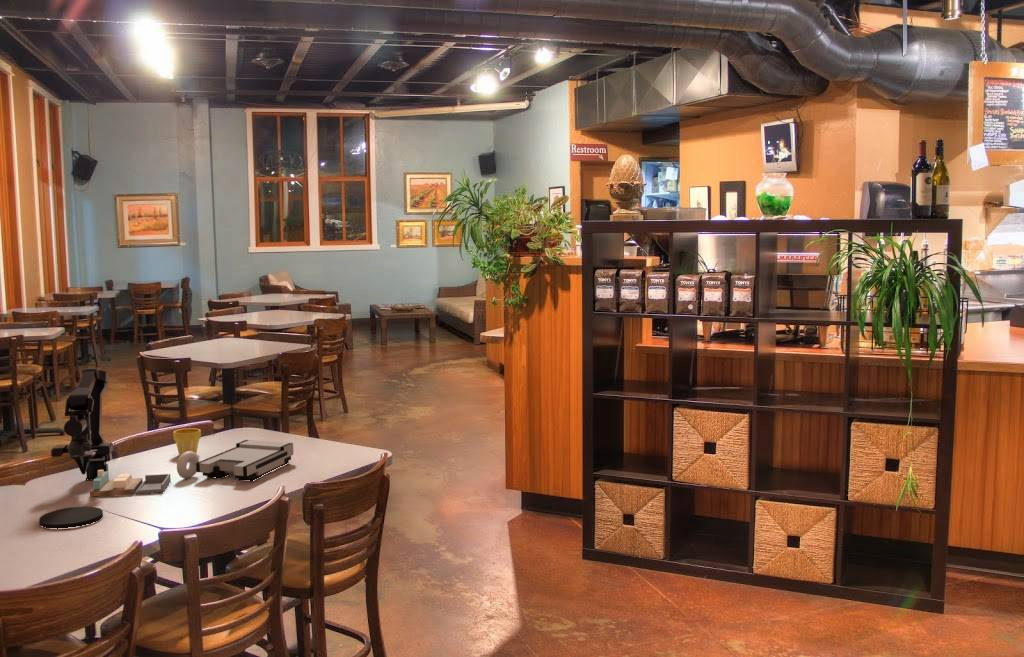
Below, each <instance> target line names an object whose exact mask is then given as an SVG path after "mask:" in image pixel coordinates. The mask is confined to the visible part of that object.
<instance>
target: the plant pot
mask: <svg viewBox="0 0 1024 657" xmlns="http://www.w3.org/2000/svg"><path fill="white" fill-rule="evenodd" d="M172 435H173V436H172V437H173V440H174V441H175V446H176V448H177V452H178V455H179V457H180V456H181V455H182V454H183V453H185V452H187V451H192V452H194V453H195V454H196V453H197V454H198V448H199V442H200V439H201V437H202V431H201V429H199V428H194V427H193V428H189V427H188V428H179V429H176V430H174V431H173V434H172ZM197 454H196V455H197Z"/></svg>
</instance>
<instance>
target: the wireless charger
mask: <svg viewBox="0 0 1024 657" xmlns="http://www.w3.org/2000/svg"><path fill="white" fill-rule="evenodd" d="M102 517H103V518H104V510H103V509H102V508H100V507H97V506H84V505H83V506H74V507H73V506H70V507H65V508H59V509H56V510H52V511H49V512H47V513H45V514H43V515H41V516H40V517H39V519H38V521H39V522H38V523H40V524H39V526H40V525H41V526H43V527H46V528H57V529H58V528H68V527H76V526H82V525H86V524H91V523H93V522H96V521H98V520H100V519H101V518H102ZM103 518H102V519H103ZM102 519H101V520H102ZM101 520H100V521H101ZM98 522H99V521H98ZM96 523H97V522H96ZM91 525H92V524H91Z"/></svg>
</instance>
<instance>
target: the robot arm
mask: <svg viewBox="0 0 1024 657" xmlns="http://www.w3.org/2000/svg"><path fill="white" fill-rule="evenodd" d="M109 383H110V375H109V373H108V372H107V371H105V370H101V369H99V368H97V367H93V368H91V367H89V368H83V369H82V371H81V378H80V380H79V383H78V385H77V388H76V389H75V390H72V391H71V392H70V393H69V395H68V397H67V398H66V401H65V409H64V416H65V417H69V420H67V421H66V422H65V424H64V426H63V431H64V433H65V434H66V435H68V436H70V438H71V440H70V442H69V444H58V445H57V444H56V445H55V446H54V447H53V448H52V449H50V456H51V458H59V457H62V456H63V455H64V454H68V456H69V459H73V461H75V463H76V464H77V466H78V468H79V471H80V473H81V475H83V476H84V475H86V478H85V479H86V480H85V481H88V480H87V479H96V478H97V477H98V470H104V472H107V471H108V472H109V464H108V463H107V462H110V461H111V454H112V452H113V451H114V445H113V444H112V442H106V440H105V438H104V437H103V435H102V424H103V422H102V420H103V419H102V418H103V395H104V394H105V393H106V391H107V390H108V384H109Z"/></svg>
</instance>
